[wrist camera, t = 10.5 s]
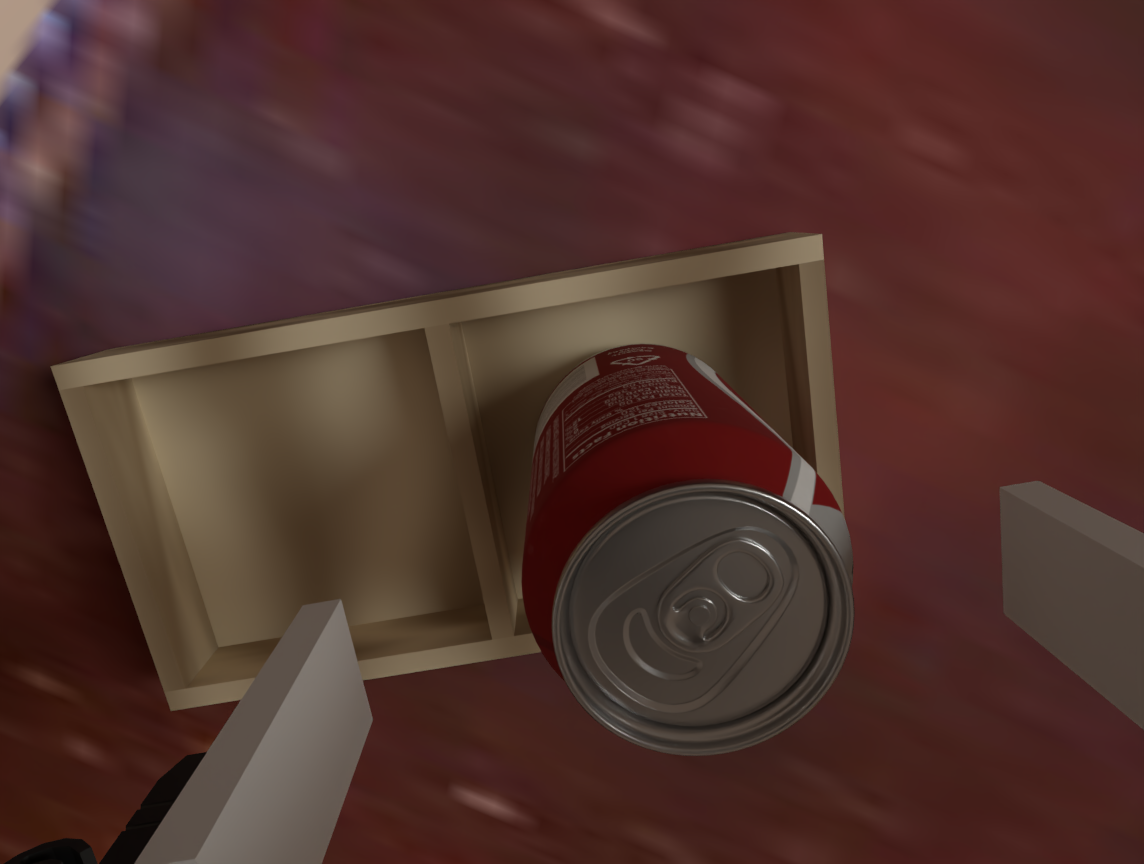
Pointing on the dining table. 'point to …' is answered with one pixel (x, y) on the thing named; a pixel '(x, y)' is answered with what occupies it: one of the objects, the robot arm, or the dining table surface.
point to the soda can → (681, 557)
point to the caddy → (403, 450)
